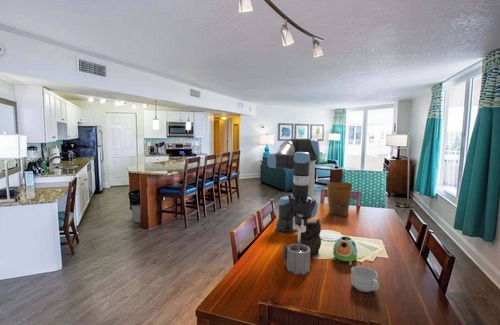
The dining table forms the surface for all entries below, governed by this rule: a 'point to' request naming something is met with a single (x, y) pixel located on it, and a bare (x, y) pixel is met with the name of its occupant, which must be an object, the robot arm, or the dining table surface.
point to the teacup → (364, 279)
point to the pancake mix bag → (339, 198)
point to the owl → (312, 236)
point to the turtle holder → (345, 249)
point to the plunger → (298, 222)
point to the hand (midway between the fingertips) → (299, 230)
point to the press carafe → (297, 259)
